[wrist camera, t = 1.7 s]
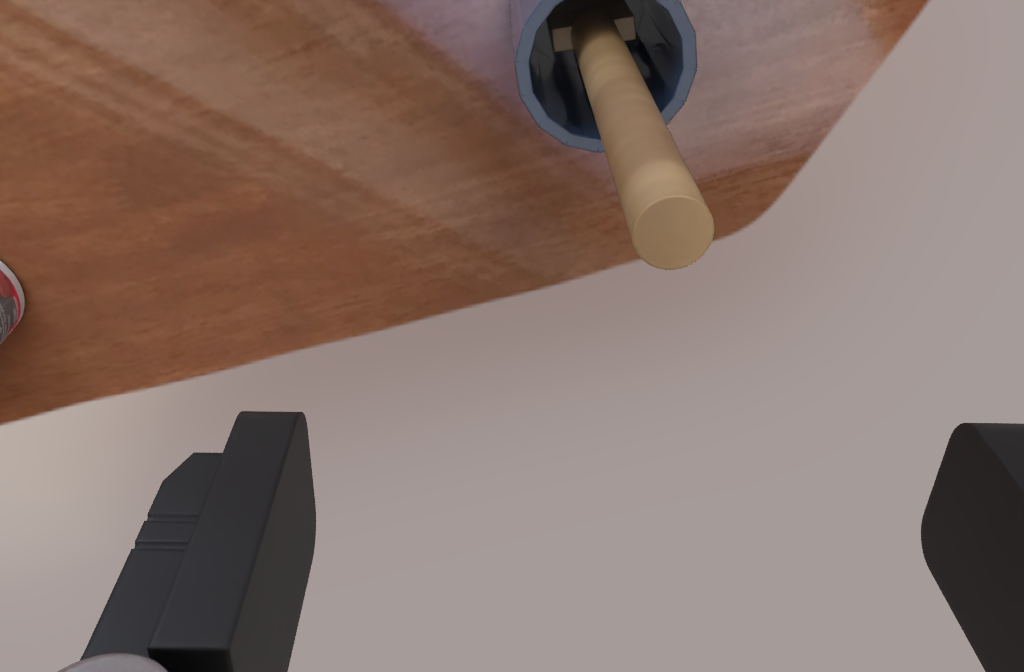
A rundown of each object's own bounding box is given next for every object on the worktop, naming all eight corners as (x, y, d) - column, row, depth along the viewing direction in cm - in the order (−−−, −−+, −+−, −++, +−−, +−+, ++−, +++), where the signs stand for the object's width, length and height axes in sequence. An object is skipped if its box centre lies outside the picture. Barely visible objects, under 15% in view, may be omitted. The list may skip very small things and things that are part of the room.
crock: (647, -86, 39) (691, -45, 30) (657, 62, 42) (700, 137, 33) (499, -61, 39) (503, -14, 31) (521, 84, 42) (529, 163, 34)
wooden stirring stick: (617, -22, 39) (746, 184, 20) (621, 21, 40) (747, 260, 21) (543, -10, 40) (596, 206, 20) (548, 33, 41) (604, 280, 21)
